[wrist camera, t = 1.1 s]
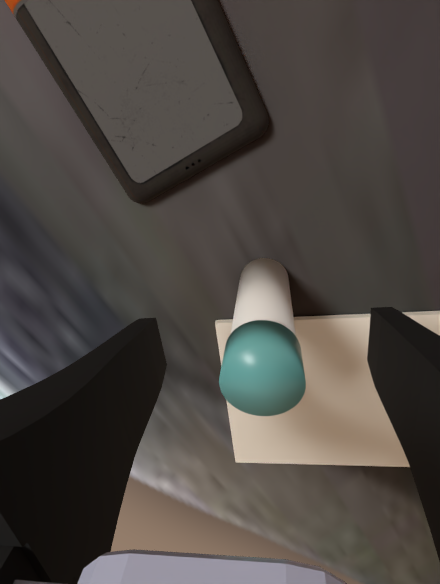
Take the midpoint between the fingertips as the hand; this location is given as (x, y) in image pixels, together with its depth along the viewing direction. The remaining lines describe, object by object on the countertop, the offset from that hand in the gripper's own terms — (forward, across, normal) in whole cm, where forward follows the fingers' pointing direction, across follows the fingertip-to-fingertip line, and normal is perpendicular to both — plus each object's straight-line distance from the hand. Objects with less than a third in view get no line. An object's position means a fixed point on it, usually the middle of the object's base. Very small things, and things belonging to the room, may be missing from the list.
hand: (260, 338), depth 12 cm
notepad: (+5, -5, +7) cm, 10 cm away
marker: (+5, 0, 0) cm, 5 cm away
